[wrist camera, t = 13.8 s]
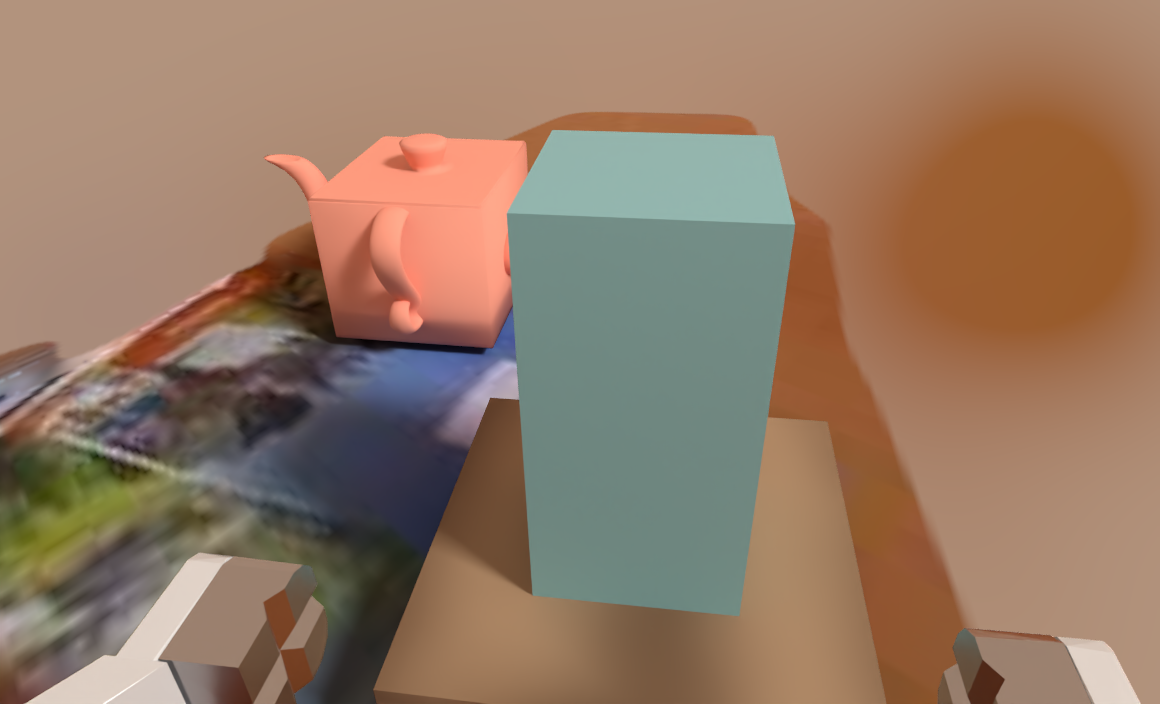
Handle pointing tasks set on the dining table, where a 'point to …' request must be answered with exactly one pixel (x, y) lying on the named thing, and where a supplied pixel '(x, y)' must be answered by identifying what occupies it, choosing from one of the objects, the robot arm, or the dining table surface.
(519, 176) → the teapot
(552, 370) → the teal pillar
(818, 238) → the dining table surface
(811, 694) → the walnut plinth
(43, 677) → the dining table surface
